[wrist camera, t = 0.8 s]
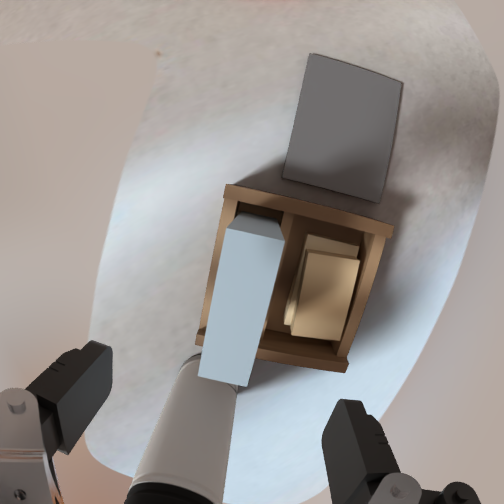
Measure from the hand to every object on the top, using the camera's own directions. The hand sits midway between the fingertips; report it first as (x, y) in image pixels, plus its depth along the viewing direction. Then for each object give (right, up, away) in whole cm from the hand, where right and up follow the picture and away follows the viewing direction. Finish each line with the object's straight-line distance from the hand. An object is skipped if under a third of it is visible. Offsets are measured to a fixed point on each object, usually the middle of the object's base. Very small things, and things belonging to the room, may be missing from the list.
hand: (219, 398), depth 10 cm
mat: (+9, +16, +16) cm, 24 cm away
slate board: (+1, +4, +18) cm, 18 cm away
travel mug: (-3, -8, +22) cm, 23 cm away
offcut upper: (+7, +2, +16) cm, 18 cm away
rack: (+4, +3, +19) cm, 20 cm away
